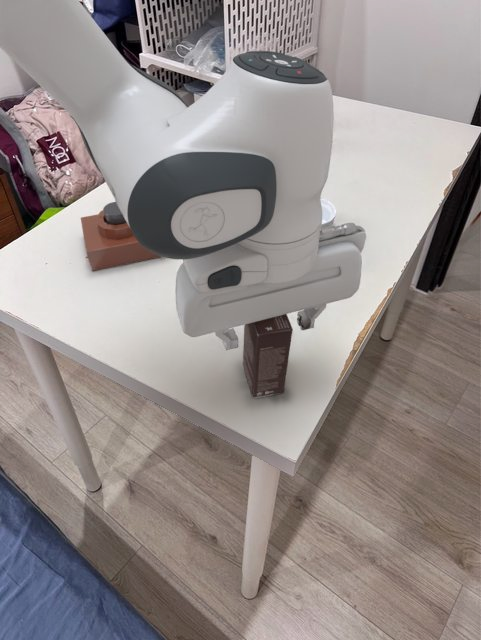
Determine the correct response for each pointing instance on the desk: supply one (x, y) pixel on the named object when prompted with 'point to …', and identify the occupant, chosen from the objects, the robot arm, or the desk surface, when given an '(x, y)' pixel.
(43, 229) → the desk surface
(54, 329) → the desk surface
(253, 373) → the box
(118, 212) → the grey push button
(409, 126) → the desk surface
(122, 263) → the brown button mount
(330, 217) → the ramekin
